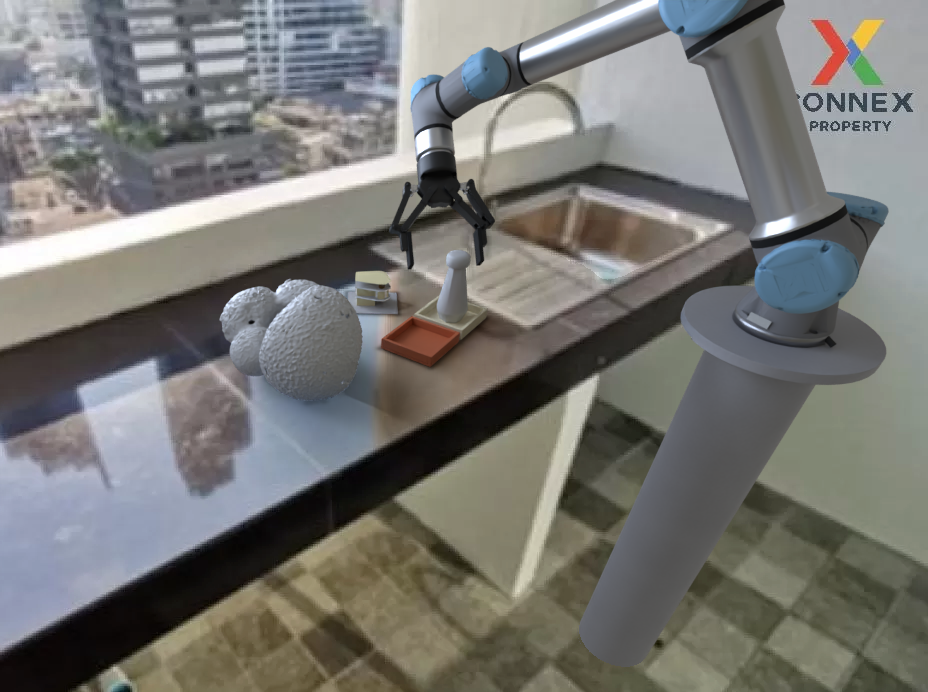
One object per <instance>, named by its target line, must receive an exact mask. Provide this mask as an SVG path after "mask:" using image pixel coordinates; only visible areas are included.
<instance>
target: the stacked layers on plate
mask: <svg viewBox="0 0 928 692" xmlns="http://www.w3.org/2000/svg"><path fill="white" fill-rule="evenodd" d="M354 278H355V279H354V281H355V284H354V291H348V292H347V300H349V302H350V303H351V305H352V306H353V308H354V309H355V310H356V314H368V315H369V314H371V315H372V314H375V315H376V314H379V315H398V314H399V310H398V295H397V293H398V292H389V290H391V289H392V286H391V284H390V283H391V282H392V279H391V278H390V277H389V275H388V273H387V272H385V271H382V270H367V271H366V270H365V271H356V272H355V277H354Z"/></svg>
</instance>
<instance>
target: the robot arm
mask: <svg viewBox="0 0 928 692" xmlns="http://www.w3.org/2000/svg"><path fill="white" fill-rule="evenodd" d="M785 3H786V2H785V0H613V1H610V2H609V3H606V4H603V5H601V6H599V7H597V8H595V9H593V10H590V11H588V12H586V13H584V14H581V15H579V16H577V17H575V18H573V19H571V20H568V21H566V22H564V23H562V24H560V25H558V26H555V27H553V28H551V29H549V30H545V31H544V32H542V33H540V34H538V35H535V36H533V37H531V38H528V39H526V40H524V41H522V42H519V43H517V44H515V45H512V46H511V47H509V48H506V49H504V50H501V51H498V50H497V49H494V48H493V47H491V46H485V47H483V48H481V49H480V50H478V51H477V52H476V53H474V54H471V55H470V56H469V57H467V59H466V60H465V61H463V62H462V63H461V64H459V65H458V66H457V67H455V68H454V69H453V70H452V71H450V72H449V73H448V74H447V75H446V76H442V75H440V74H433V73H432V74H428V75H427V76H425V77H420V78H418V80H416V81H415V82H414V83H413V85H412V87H411V89H410V113H411V121H412V127H413V139H414V150H415V151H414V152H415V161H416V174H417V175H416V176H417V184H412V182H410V181H405V183H404V185H403V188H402V195H401V197H402V198H401V200H400V202H399V204H398V208H397V210H396V212H395V215H394V217H393V220H392V222H391V225H390V227H389V233H390V234H391V235H395V234H396V235H397V237H398V238H399V246H400V251H401V253H402V252H403V253H404V252H405V255H406V267H407V270H408V271H409V270H410V271H411V270H413V267H414V266H415V256H414V247H413V237H412V231H411V230H410V228H411V227H412V226H413V224H414V223H415V222H416V220H417V219H418V218H419V216H420V215H421V213H423V211H424V210H425V209H426V207H427V206H428V207H430V209H436V208H447V207H450V208H451V210H454V211H456V212H457V213H458V214H459V215H460V217H462V218H463V219H464V220H465V221H466V222H467V223H468V224H469V225H470V226H471V227H472V228H473V229H474V232H473V234H472V236H473V237H472V238H473V247H474V255H475V258H474V259H475V266H476V267H480V266H481V265H482V264H483V263H484V262H485V252H484V248H486V246H487V244H488V238H487V230H490V229H491V228H492V227H493V225H494V224H495V223H496V219H495V217H494V216H493V214H492V213H491V210H490V209H489V207H488V206H487V205H486V203H485V202H484V200H483V198H482V197H481V195H480V193H479V192H478V190H477V187H476V183H475V180H474V178H469V179H468V181H465V182H460V181H459V180H458V179H459V178H458V171H457V162H456V160H457V159H456V156H455V154H456V150H455V142H454V140H455V139H454V130H453V129H454V128H453V122H454V121H456V120H457V119H459V118H461V117H462V116H464V115H465V114H467V113H468V112H470V111H471V110H473V109H475V108H476V107H478V106H480V105H482V104H485V103H487V102H490V101H492V100H495V99H498V98H500V97H503V96H507V95H510V94H515V93H517V92H519V91H521V90H522V89H524V88H525V89H526V88H527V87H531V86H532V85H534V84H537V83H540V82H543V81H545V80H547V79H550V78H553V77H555V76H558V75H560V74H563V73H566V72H568V71H571V70H573V69H576V68H578V67H581V66H584V65H586V64H589V63H592V62H594V61H597V60H600V59H602V58H605V57H607V56H610V55H612V54H615V53H617V52H620V51H623V50H625V49H628V48H630V47H633V46H635V45H638V44H641V43H644V42H646V41H648V40H651V39H653V38H657V37H659V36H661V35H664V34H666V33H670V32H672V33H673V34H675V35H677V36H678V37H679V40H680V42H681V45H682V48H683V51H684V54H685V57H686V60H687V63H689V64H693V65H696V66H700V67H702V68H703V69H704V71H705V74H706V77H707V80H708V82H709V86H710V89H711V93H712V95H713V98H714V101H715V104H716V106H717V107H716V108H717V109H718V113H719V116H720V119H721V122H722V125H723V128H724V131H725V133H726V136H727V140H728V142H729V146H730V148H731V151H732V154H733V158H734V161H735V163H736V167H737V169H738V171H739V174H740V177H741V181H742V183H743V187H744V190H745V192H746V196H747V198H748V201H749V205H750V207H751V210H752V213H753V217H754V219H755V224H754V226H753V228H752V230H751V231H750V233H749V234H748V240H749V243H750V246H751V248H752V249H751V250H752V252H753V255H754V258H755V262H756V264H757V266H756V267H755V268H756V269H755V271H754V285H753V286H754V287H753V288H752V289H751V290H750V291H749V292H748V293H747V294H746V295H745V296H744V297H743V298H742V299H741V301H740V302H739V303H738V304H737V306H736V308H735V310H734V312H733V314H732V318H733V321H734V322H735V324H736V325H737V326H738V327H739V328H741V329H742V330H743V331H745V332H746V333H748V334H750V335H752V336H754V337H756V338H759V339H761V340H764V341H767V342H770V343H774V344H778V345H782V346H788V347H798V348H809V347H817V346H821V345H823V344H825V343H827V344H828V345H829V347H830V348H831V347H833V346H835V345H836V343H835V342H834V341H833V339H832V338H831V335H832V334H833V332H834V330H835V325H836V318H837V312H838V308H839V304H840V301H841V300H842V299H843V298H844V297H845V296H846V295H847V294H848V292H849V291H850V290H851V289H852V288H853V287H854V286H855V284H856V282H857V280H858V278H859V275H860V272H861V268H862V267H863V264H864V261H865V258H866V256H867V253H868V251H869V249H870V247H871V245H872V243H873V242H874V240H875V238H876V236H877V235H878V233H879V231H880V229H881V228H882V227H884V225H885V221H886V219H887V216H888V215H889V207H888V206H887V205H886V204H884V203H882V202H881V201H878V200H875V199H871V198H868V197H864V196H859V195H854V194H848V193H843V192H835V191H827V189H826V186H825V183H824V182H825V181H824V179H823V175H822V173H821V170H820V166H819V163H818V160H817V156H816V153H815V149H814V145H813V142H812V140H811V136H810V133H809V130H808V127H807V124H806V121H805V118H804V114H803V111H802V108H801V104H800V101H799V98H798V95H797V92H796V88H795V85H794V81H793V78H792V75H791V72H790V69H789V66H788V63H787V59H786V56H785V52H784V50H783V46H782V43H781V40H780V37H779V33H778V30H777V27H778V23H779V21H780V19H781V17H782V15H783V13H784V11H785V9H786V4H785ZM459 191H461V192H462V193H463V195H464V196H465V195H466V199H467V200H468V202H469V203H470V205H471V206H469V204H468V203H467V202H465V200H464V198H463V197H462V195H461V194H460V193H459ZM415 193H416V194H417V195H418V197H419V198H420V201H419V202H418V204H417V205H416V206H415V208H414V209H413V210H412V211H411V213H410V215H409V216H408V217H407V218H406V220H405V221H404V222H403V224H402V225H400V222H401V219H402V217H403V215H404V212H405V210H406V207H407V204H408V202H409V200H410V198H412V197H413V196H414V194H415Z"/></svg>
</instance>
